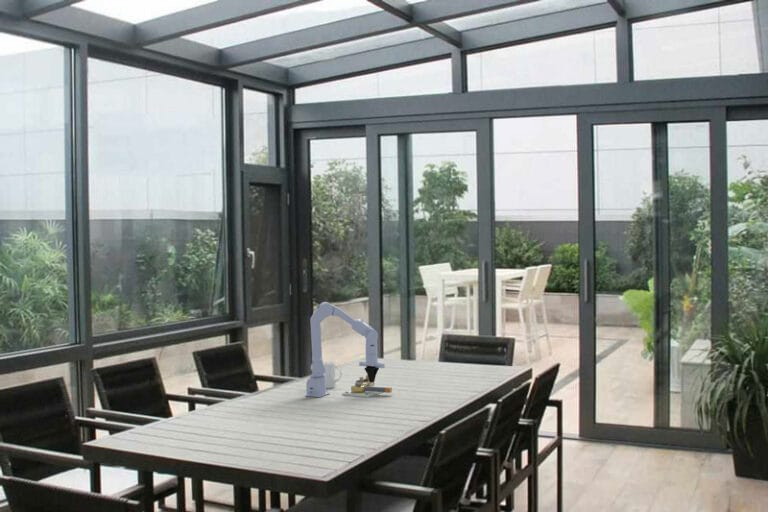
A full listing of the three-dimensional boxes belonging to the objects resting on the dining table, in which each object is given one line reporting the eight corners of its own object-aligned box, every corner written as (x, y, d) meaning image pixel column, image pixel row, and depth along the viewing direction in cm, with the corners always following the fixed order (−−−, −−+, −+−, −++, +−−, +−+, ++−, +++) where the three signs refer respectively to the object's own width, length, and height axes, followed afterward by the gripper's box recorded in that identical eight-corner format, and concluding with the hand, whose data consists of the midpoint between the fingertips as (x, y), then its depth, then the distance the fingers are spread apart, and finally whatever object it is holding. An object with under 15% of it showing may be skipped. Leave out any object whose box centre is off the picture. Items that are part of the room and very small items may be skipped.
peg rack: (363, 388, 436) (363, 378, 436) (355, 387, 438) (354, 377, 438) (374, 385, 444) (374, 375, 444) (365, 384, 447) (365, 374, 447)
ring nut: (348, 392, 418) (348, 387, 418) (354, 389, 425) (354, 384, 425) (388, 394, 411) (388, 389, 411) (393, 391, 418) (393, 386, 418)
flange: (367, 397, 411) (367, 386, 411) (342, 395, 418) (342, 384, 418) (385, 391, 425) (384, 380, 425) (360, 389, 432) (360, 379, 432)
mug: (345, 386, 443) (344, 362, 443) (336, 389, 436) (336, 364, 435) (324, 384, 448) (324, 361, 448) (316, 387, 441) (315, 363, 441)
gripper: (388, 354, 422) (388, 382, 422) (365, 351, 432) (366, 379, 432) (378, 355, 417) (379, 384, 417) (356, 353, 426) (356, 381, 426)
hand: (371, 382), depth 424 cm, fingers closed
